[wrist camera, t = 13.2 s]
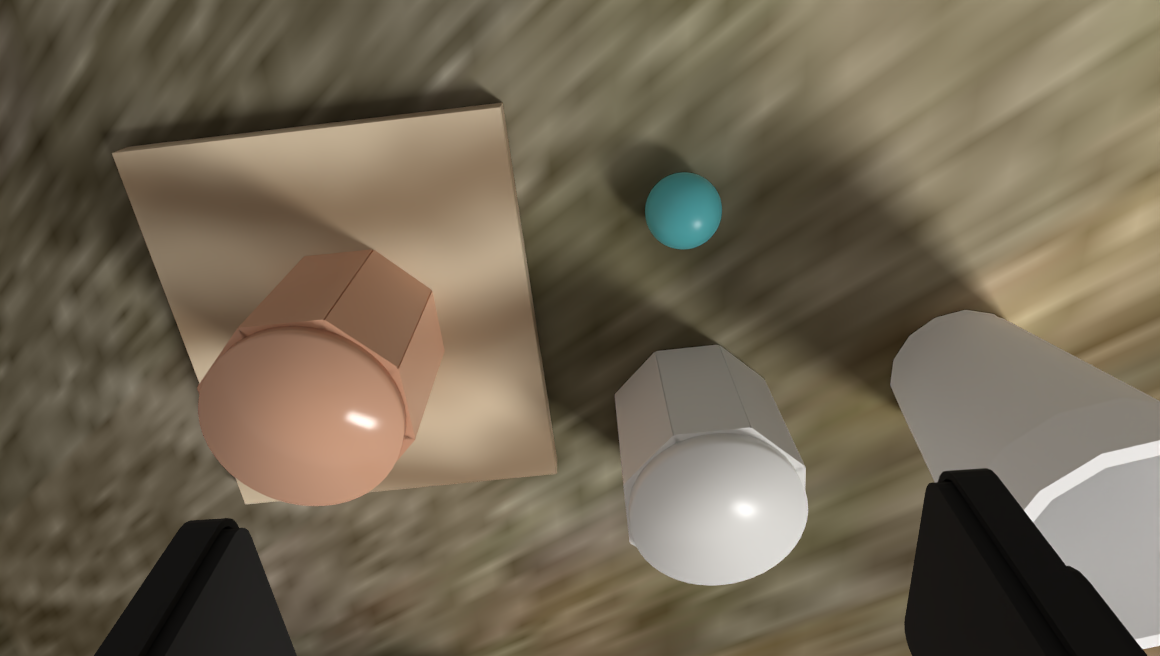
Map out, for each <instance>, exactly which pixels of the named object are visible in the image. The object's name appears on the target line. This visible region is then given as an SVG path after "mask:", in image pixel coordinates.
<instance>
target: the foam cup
mask: <svg viewBox="0 0 1160 656" xmlns="http://www.w3.org/2000/svg"><path fill="white" fill-rule="evenodd" d="M890 386H891V388H892V390H893V393H894V395H895V398H896V400H897V402H898V404H899V407H900V409H901V411H902V413H903V415H904V418H905V420H906V422H907V424H908V426H909V428H910V430H911V433H912V435H913V437H914V439H915V441H916V443H917V445H918V447H919V450H920V452H921V454H922V456H923V458H924V460H925V462H926V464H927V467H928V469H929V471H930V473H931V475H932V477H933V479H934V482H935V483H936V482H938V479H939V476H940V475H941V473H942V472H944V471H951V470H966V469H981V468H988V469H990V470H992V471H993V472H994V473H995V474H996V475H997V476H998V477H999V479H1000V480H1001V481H1002V482H1003V484H1004V485H1005V486H1006V488H1007V489H1008V490H1009V492H1010V493H1011V494H1012V495H1013V497H1014V498H1015V499H1016V501H1017V502H1018V503H1019V505H1020V506H1021V507H1022V509H1023V510H1024V511H1025V512H1026V514H1027V515H1028V516H1029V518H1030V519H1031V520H1032V522H1033V523H1034V524H1035V526H1036V527H1037V528H1038V529H1039V531H1040V532H1041V533H1042V535H1043V536H1044V537H1045V539H1046V540H1047V541H1048V543H1049V544H1050V545H1051V546H1052V548H1053V549H1054V550H1055V552H1056V553H1057V554H1058V556H1059V557H1060V558H1061V560H1062V561H1063V562H1064V563H1065V565H1066V566H1071V567H1073V568H1074V569H1076V570H1078V571H1080V572H1081V573H1082V574H1083V575H1084V576H1085V577H1086V578H1087V579H1088V581H1089V582H1090V583H1091V584H1092V585H1093V587H1094V588H1095V589H1096V591H1097V592H1098V593H1099V594H1100V596H1101V597H1102V598H1103V599H1104V601H1105V602H1106V603H1107V605H1108V606H1109V607H1110V608H1111V610H1112V611H1113V612H1114V614H1115V615H1116V616H1117V617H1118V619H1119V620H1120V621H1121V622H1122V624H1123V625H1124V626H1125V628H1126V629H1127V630H1128V631H1129V633H1130V634H1131V635H1132V637H1133V638H1134V639H1135V640H1136V642H1137V643H1138V644H1139V645H1140V647H1141V648H1142V649H1146V648H1150V647H1155V646H1160V401H1158V400H1157V399H1155V398H1153V397H1151V396H1149V395H1147V394H1145V393H1143V392H1141V391H1140V390H1138V389H1136V388H1134V387H1132V386H1130V385H1128V384H1126V383H1124V382H1123V381H1121V380H1119V379H1117V378H1115V377H1113V376H1111V375H1109V374H1107V373H1105V372H1104V371H1102V370H1100V369H1098V368H1096V367H1094V366H1092V365H1090V364H1088V363H1087V362H1085V361H1083V360H1081V359H1079V358H1077V357H1075V356H1073V355H1071V354H1070V353H1068V352H1066V351H1064V350H1062V349H1060V348H1058V347H1056V346H1054V345H1053V344H1051V343H1049V342H1047V341H1045V340H1043V339H1041V338H1039V337H1037V336H1035V335H1034V334H1032V333H1030V332H1028V331H1026V330H1024V329H1022V328H1020V327H1018V326H1017V325H1015V324H1013V323H1011V322H1009V321H1007V320H1005V319H1003V318H1000V317H997V316H996V315H995V314H991V313H984V312H978V311H971V310H962V311H959V312H955V313H951V314H947V315H943V316H939V317H936V318H934V319H932V320H931V321H930V322H928V323H927V324H925V325H924V326H922V327H921V328H920V329H918V330H917V331H915V332H914V333H913V334H911V335H910V336H909V337H908V339H907V340H906V342H905V343H904V345H903V346H902V348H901V349H900V351H899V352H898V354H897V355H896V357H895V358H894V360H893V367H892V375H891V383H890Z"/></svg>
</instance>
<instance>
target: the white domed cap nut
mask: <svg viewBox="0 0 1160 656" xmlns="http://www.w3.org/2000/svg"><path fill="white" fill-rule="evenodd" d="M615 405H616V415H617V425H618V435H619V445H620V455H621V465H622V475H623V485H624V495H625V504H626V513H627V522H628V532H629V541H630V543H631V544H633V545H634V546H636V547H637V548H638V550H639V552H640V553H641V554H642V556H643V557H644V558H645V560H647V561H648V562H649V563H650V564H651V565H652V566H653V567H654V568H656V569H657V570H659V571H660V572H662V573H664V574H665V575H667V576H669V577H672V578H674V579H677V580H679V581H683V582H687V583H692V584H698V585H725V584H732V583H736V582H740V581H744V580H747V579H750V578H753V577H755V576H757V575H760V574H762V573H764V572H766V571H767V570H769V569H771V568H772V567H774V566H775V565H776V564H778V563H779V562H780V561H782V560H783V559H784V558H785V557H786V556H787V555H788V554H789V553H790V552H791V550H792V549H793V548H794V547H795V546H796V544H797V542H798V541H799V539H800V538H801V535H802V533H803V531H804V529H805V525H806V521H807V516H808V501H807V496H806V492H805V475H806V467H805V465H804V463H803V461H802V459H801V456H800V454H799V452H798V450H797V448H796V446H795V444H794V441H793V439H792V437H791V435H790V433H789V431H788V429H787V426H786V424H785V422H784V420H783V418H782V416H781V414H780V412H779V409H778V407H777V405H776V403H775V401H774V399H773V397H772V394H771V392H770V390H769V388H768V386H767V384H766V382H765V379H764V378H763V377H761V376H760V375H759V374H757V373H756V372H755V371H753V370H752V369H751V368H749V367H748V366H747V365H745V364H744V363H743V362H741V361H740V360H739V359H737V358H736V357H735V356H733V355H732V354H731V353H730V352H728V351H727V350H726V349H724V348H723V347H722V346H720V345H709V346H700V347H690V348H681V349H671V350H661V351H656V352H654V353H653V354H652V355H651V356H650V357H649V358H648V359H647V360H646V361H645V362H644V363H643V365H642V366H641V367H640V368H639V369H638V370H637V371H636V372H635V373H634V374H633V375H632V376H631V377H630V378H629V379H628V380H627V382H626V383H625V384H624V385H623V386H622V387H621V388H620V389H619V390H618V391H617V392H616V393H615Z"/></svg>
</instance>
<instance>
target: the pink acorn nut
mask: <svg viewBox="0 0 1160 656" xmlns="http://www.w3.org/2000/svg"><path fill="white" fill-rule="evenodd" d="M444 351H445V350H444V345H443V340H442V335H441V330H440V326H439V321H438V316H437V311H436V306H435V301H434V296H433V291H431V289H430V288H428V287H427V286H426V285H424V284H423V283H421V282H420V281H418V280H417V279H416V278H414V277H413V276H411V275H410V274H408V273H407V272H405V271H404V270H403V269H401V268H400V267H398V266H397V265H395V264H394V263H393V262H391V261H390V260H388V259H387V258H385V257H384V256H382V255H381V254H380V253H378V252H377V251H375V250H373V249H370V250H360V251H351V252H341V253H331V254H321V255H312V256H304V257H303V258H302V259H301V260H300V261H299V262H298V263H297V264H296V265H295V267H294V268H293V269H292V270H291V271H290V272H289V273H288V274H287V275H286V276H285V277H284V278H283V280H282V281H281V282H280V283H279V284H278V285H277V286H276V287H275V288H274V289H273V290H272V291H271V292H270V294H269V295H268V296H267V297H266V298H265V299H264V300H263V301H262V302H261V303H260V304H259V305H258V306H257V308H256V309H255V310H254V311H253V312H252V313H251V314H250V315H249V316H248V317H247V318H246V319H245V321H244V322H243V323H242V324H241V325H240V326H239V327H238V328H237V329H236V331H235V332H234V334H233V335H232V337H231V338H230V340H229V341H228V343H227V344H226V345H225V347H224V348H223V350H222V351H221V353H220V354H219V356H218V357H217V359H216V360H215V362H214V363H213V364H212V366H211V367H210V369H209V370H208V372H207V373H206V375H205V376H204V378H203V379H202V381H201V382H200V384H199V385H198V386H197V387H198V388H197V390H198V392H199V401H198V415H199V422H200V426H201V429H202V433H203V436H204V438H205V440H206V442H207V444H208V446H209V448H210V450H211V451H212V453H213V454H214V456H215V457H216V458H217V460H218V461H219V462H220V463H221V465H222V466H223V467H224V468H225V469H226V470H227V471H228V472H229V473H230V474H231V475H233V476H234V477H235V478H236V479H238V480H239V481H240V482H242V483H243V484H245V485H246V486H248V487H250V488H251V489H253V490H255V491H257V492H259V493H261V494H263V495H265V496H268V497H270V498H273V499H276V500H279V501H283V502H286V503H291V504H297V505H305V506H327V505H334V504H340V503H343V502H347V501H350V500H353V499H355V498H358V497H360V496H362V495H364V494H366V493H368V492H369V491H371V490H373V489H374V488H375V487H376V486H378V485H379V484H380V483H381V482H382V481H383V480H384V479H385V478H386V477H387V475H388V474H389V473H390V471H391V470H392V469H393V467H394V465H395V463H396V462H397V460H398V459H399V458H400V457H401V456H402V455H403V453H404V452H405V451H406V450H407V449H408V448H409V446H410V445H411V444H412V443H413V442H414V441H415V439H416V436H417V433H418V430H419V427H420V424H421V421H422V418H423V414H424V411H425V408H426V405H427V402H428V399H429V396H430V393H431V390H432V387H433V384H434V381H435V378H436V375H437V372H438V369H439V366H440V363H441V360H442V357H443V354H444Z"/></svg>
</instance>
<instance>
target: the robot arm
mask: <svg viewBox="0 0 1160 656" xmlns="http://www.w3.org/2000/svg"><path fill="white" fill-rule="evenodd" d="M905 634H906V640H907V643H908V646H909V649H910V652H911V654H912V656H1147V654H1146V653H1145V652H1144V651H1143V649H1142V648H1141V647H1140V645H1139V644H1138V643H1137V642H1136V640H1135V639H1134V638H1133V637H1132V635H1131V634H1130V633H1129V631H1128V630H1127V629H1126V628H1125V626H1124V625H1123V624H1122V622H1121V621H1120V620H1119V619H1118V617H1117V616H1116V615H1115V614H1114V612H1113V611H1112V610H1111V608H1110V607H1109V606H1108V605H1107V603H1106V602H1105V601H1104V599H1103V598H1102V597H1101V596H1100V594H1099V593H1098V592H1097V591H1096V589H1095V588H1094V587H1093V585H1092V584H1091V583H1090V582H1089V581H1088V579H1087V578H1086V577H1085V576H1084V575H1083V574H1082V573H1081V572H1080V571H1078V570H1076V569H1074V568H1073V567H1071V566H1066V565H1065V563H1064V562H1063V561H1062V560H1061V558H1060V557H1059V556H1058V554H1057V553H1056V552H1055V550H1054V549H1053V548H1052V546H1051V545H1050V544H1049V543H1048V541H1047V540H1046V539H1045V537H1044V536H1043V535H1042V533H1041V532H1040V531H1039V529H1038V528H1037V527H1036V526H1035V524H1034V523H1033V522H1032V520H1031V519H1030V518H1029V516H1028V515H1027V514H1026V512H1025V511H1024V510H1023V509H1022V507H1021V506H1020V505H1019V503H1018V502H1017V501H1016V499H1015V498H1014V497H1013V495H1012V494H1011V493H1010V492H1009V490H1008V489H1007V488H1006V486H1005V485H1004V484H1003V482H1002V481H1001V480H1000V479H999V477H998V476H997V475H996V474H995V473H994V472H993V471H992V470H990V469H988V468H981V469H966V470H951V471H944V472H942V473H941V475H940V476H939V479H938V482H936V483H929V484H928V486H927V488H926V492H925V498H924V504H923V511H922V517H921V523H920V529H919V535H918V541H917V548H916V554H915V560H914V566H913V572H912V578H911V585H910V591H909V597H908V603H907V609H906V616H905ZM94 656H297V655H296V653H295V650H294V647H293V645H292V642H291V640H290V637H289V634H288V632H287V629H286V626H285V624H284V621H283V619H282V616H281V613H280V611H279V608H278V606H277V603H276V600H275V598H274V595H273V592H272V590H271V587H270V585H269V582H268V579H267V577H266V574H265V571H264V569H263V566H262V564H261V561H260V558H259V556H258V553H257V550H256V548H255V545H254V543H253V540H252V537H251V535H250V533H249V531H248V530H247V529H245V528H239V527H238V525H237V523H236V522H235V521H234V520H233V519H229V518H224V519H209V520H194V521H188V522H186V523H184V524H183V526H182V527H181V528H180V529H179V530H178V532H177V533H176V535H175V536H174V538H173V539H172V541H171V542H170V544H169V545H168V547H167V548H166V550H165V551H164V553H163V554H162V556H161V557H160V558H159V560H158V561H157V563H156V564H155V566H154V567H153V569H152V570H151V572H150V573H149V575H148V576H147V578H146V579H145V581H144V582H143V584H142V585H141V587H140V588H139V590H138V591H137V593H136V594H135V596H134V597H133V599H132V600H131V601H130V603H129V604H128V606H127V607H126V609H125V610H124V612H123V613H122V615H121V616H120V618H119V619H118V621H117V622H116V624H115V625H114V627H113V628H112V630H111V631H110V633H109V634H108V636H107V637H106V639H105V640H104V642H103V643H102V645H101V646H100V647H99V649H98V650H97V652H96V653H95V655H94Z"/></svg>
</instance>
